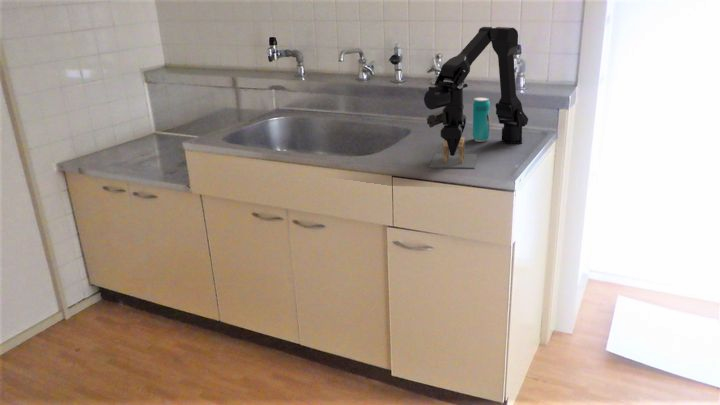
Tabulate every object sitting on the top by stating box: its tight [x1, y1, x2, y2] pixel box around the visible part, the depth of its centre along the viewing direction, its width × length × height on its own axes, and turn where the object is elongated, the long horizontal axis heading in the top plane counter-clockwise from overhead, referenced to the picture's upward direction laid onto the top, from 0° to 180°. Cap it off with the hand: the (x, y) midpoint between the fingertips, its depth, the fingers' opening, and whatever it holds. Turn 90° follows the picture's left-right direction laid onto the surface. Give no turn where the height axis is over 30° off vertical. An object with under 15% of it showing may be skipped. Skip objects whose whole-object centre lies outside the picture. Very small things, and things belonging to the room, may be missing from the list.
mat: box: [429, 152, 478, 170], centre depth 194 cm, size 14×14×1 cm
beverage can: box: [472, 96, 491, 143], centre depth 212 cm, size 6×6×15 cm
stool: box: [442, 136, 465, 163], centre depth 193 cm, size 6×6×7 cm
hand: (453, 151), depth 193 cm, fingers open, 9 cm apart
